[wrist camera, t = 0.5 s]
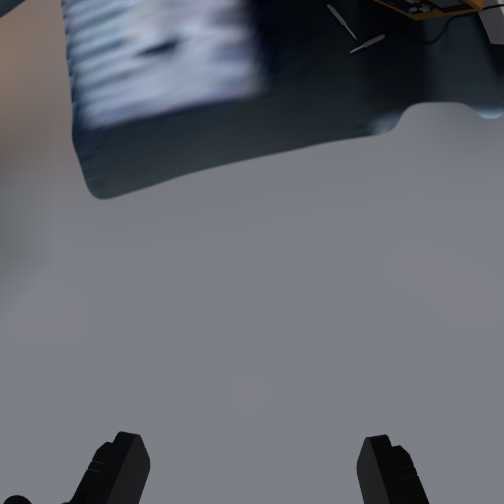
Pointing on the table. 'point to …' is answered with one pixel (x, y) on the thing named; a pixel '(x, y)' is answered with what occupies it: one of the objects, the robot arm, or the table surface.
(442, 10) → the multimeter
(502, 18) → the white tray
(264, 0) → the table surface
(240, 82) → the table surface
